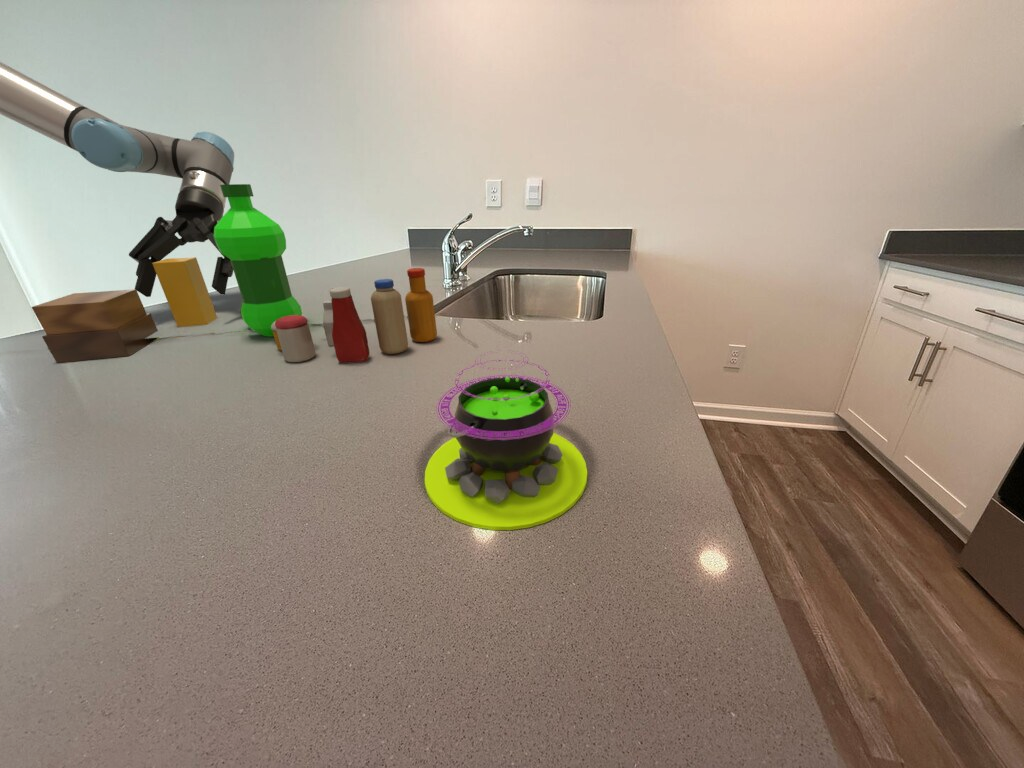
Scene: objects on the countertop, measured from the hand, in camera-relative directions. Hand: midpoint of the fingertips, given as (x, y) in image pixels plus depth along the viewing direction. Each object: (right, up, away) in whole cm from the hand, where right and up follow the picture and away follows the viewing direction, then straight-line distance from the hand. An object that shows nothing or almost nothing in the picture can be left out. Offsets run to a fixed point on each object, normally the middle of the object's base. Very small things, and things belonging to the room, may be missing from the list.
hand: (180, 291), depth 76 cm
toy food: (+36, -12, -8) cm, 38 cm away
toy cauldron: (+61, -25, -38) cm, 76 cm away
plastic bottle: (+18, -8, +1) cm, 19 cm away
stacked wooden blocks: (-7, -11, -6) cm, 14 cm away
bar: (0, -6, +4) cm, 8 cm away
